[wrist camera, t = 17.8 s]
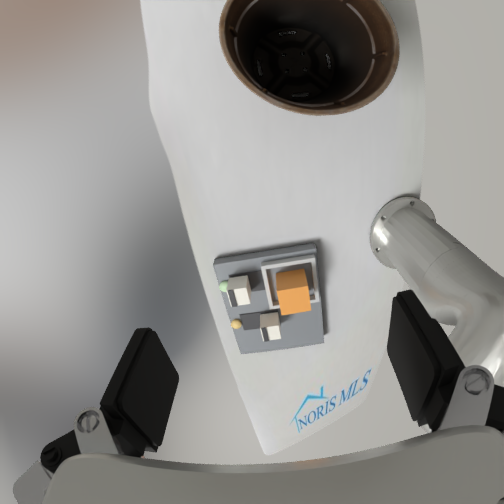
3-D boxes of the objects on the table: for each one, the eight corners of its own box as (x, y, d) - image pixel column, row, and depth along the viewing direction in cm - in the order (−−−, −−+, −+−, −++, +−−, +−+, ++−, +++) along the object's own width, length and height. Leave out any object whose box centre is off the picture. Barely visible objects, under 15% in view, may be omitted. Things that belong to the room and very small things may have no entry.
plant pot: (328, 5, 28) (360, -44, 14) (366, 102, 35) (421, 98, 20) (220, 32, 31) (195, -12, 17) (259, 130, 38) (255, 138, 23)
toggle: (251, 291, 46) (250, 304, 43) (233, 293, 47) (230, 307, 44) (247, 275, 45) (246, 288, 42) (228, 278, 46) (226, 291, 42)
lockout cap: (307, 291, 47) (311, 310, 42) (280, 296, 47) (281, 315, 43) (304, 268, 45) (308, 285, 40) (275, 273, 45) (276, 291, 41)
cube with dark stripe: (280, 325, 49) (281, 339, 46) (263, 327, 50) (263, 341, 47) (277, 312, 48) (278, 326, 45) (260, 314, 49) (259, 328, 45)
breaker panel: (322, 335, 53) (324, 347, 51) (241, 346, 55) (240, 358, 53) (313, 242, 45) (317, 252, 42) (214, 258, 47) (211, 268, 44)
